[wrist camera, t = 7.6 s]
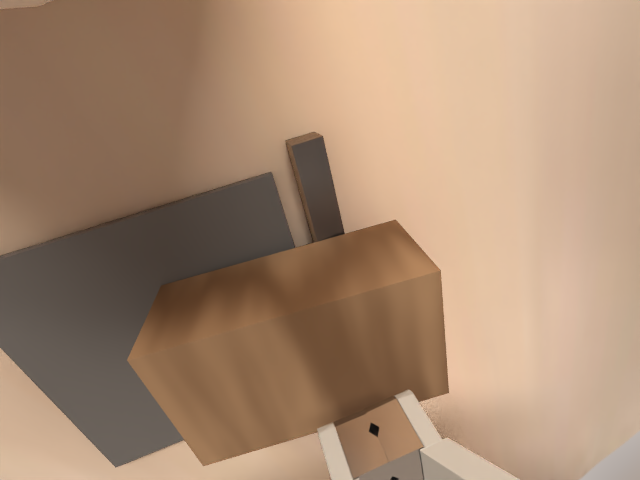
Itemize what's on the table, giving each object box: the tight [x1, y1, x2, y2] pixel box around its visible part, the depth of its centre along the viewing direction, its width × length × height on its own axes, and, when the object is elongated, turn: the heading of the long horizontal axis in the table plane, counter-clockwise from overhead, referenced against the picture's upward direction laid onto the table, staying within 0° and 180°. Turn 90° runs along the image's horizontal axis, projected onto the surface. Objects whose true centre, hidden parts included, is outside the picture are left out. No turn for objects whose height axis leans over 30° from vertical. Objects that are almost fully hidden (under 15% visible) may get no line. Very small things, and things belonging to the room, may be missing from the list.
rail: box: [286, 132, 344, 242], centre depth 16 cm, size 1×14×1 cm, turn 15°
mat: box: [0, 172, 295, 467], centre depth 15 cm, size 12×12×1 cm
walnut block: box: [127, 220, 449, 466], centre depth 14 cm, size 4×6×10 cm
